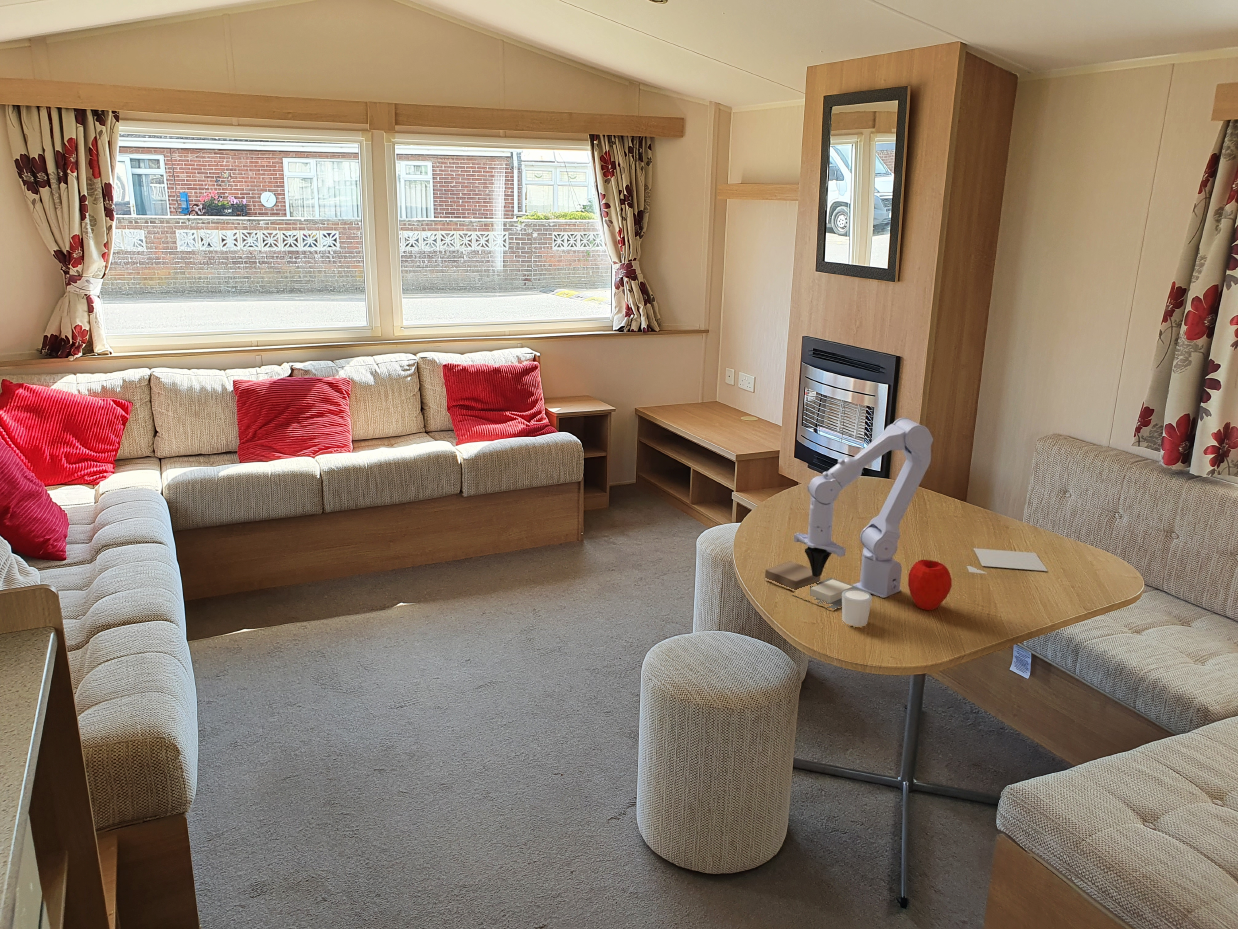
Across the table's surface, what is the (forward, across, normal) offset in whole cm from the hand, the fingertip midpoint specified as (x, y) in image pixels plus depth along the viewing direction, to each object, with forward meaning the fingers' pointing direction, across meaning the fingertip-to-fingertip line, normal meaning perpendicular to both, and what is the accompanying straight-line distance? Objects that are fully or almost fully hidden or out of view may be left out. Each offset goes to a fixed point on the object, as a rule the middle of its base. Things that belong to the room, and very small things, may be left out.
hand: (816, 575), depth 229 cm
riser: (+4, -8, 0) cm, 9 cm away
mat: (+4, +4, +1) cm, 6 cm away
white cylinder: (+4, +18, -8) cm, 20 cm away
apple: (+4, +24, +13) cm, 27 cm away
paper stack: (+5, +20, +53) cm, 57 cm away
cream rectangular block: (+2, +5, 0) cm, 5 cm away
